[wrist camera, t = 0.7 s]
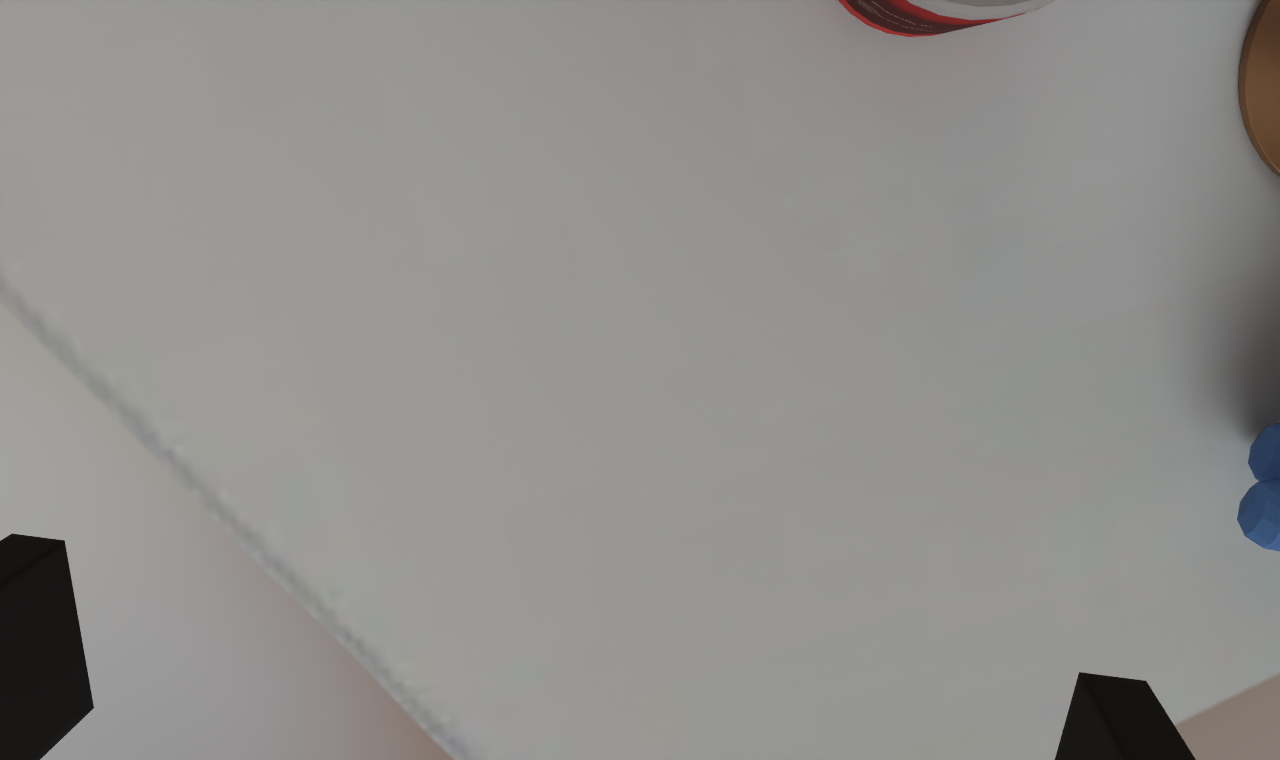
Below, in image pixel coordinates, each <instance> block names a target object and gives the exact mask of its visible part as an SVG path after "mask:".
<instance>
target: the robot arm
mask: <svg viewBox="0 0 1280 760" xmlns="http://www.w3.org/2000/svg"><path fill="white" fill-rule="evenodd" d="M93 708H94V706H93V700H92V695H91V690H90V684H89V678H88V672H87V666H86V660H85V655H84V649H83V643H82V638H81V632H80V626H79V620H78V615H77V609H76V603H75V598H74V592H73V586H72V580H71V575H70V569H69V563H68V558H67V552H66V547H65V541H64V540H56V539H48V538H41V537H33V536H25V535H18V534H11V535H9V536H8V537H6V538H4V539H3V540H1V541H0V760H40V759H41V758H42V757H43V756H44V755H45V754H46V753H47V752H48V751H49V750H50V749H52V747H54V746H55V745H56V744H57V743H58V742H59V741H60V740H61V739H62V738H63V737H64V736H65V735H66V734H67V733H68V732H69V731H70V730H71V729H72V728H73V727H74V726H76V725H77V723H79V722H80V721H81V720H82V719H83V718H84V717H85V716H86V715H87V714H88V713H89V712H90V711H91V710H92V709H93ZM1055 760H1196V759H1195V758H1194V756H1193V755H1192V753H1191V751H1190V750H1189V749H1188V747H1187V745H1186V744H1185V742H1184V740H1183V739H1182V737H1181V736H1180V734H1179V732H1178V731H1177V729H1176V728H1175V726H1174V724H1173V723H1172V721H1171V720H1170V718H1169V717H1168V715H1167V713H1166V712H1165V710H1164V709H1163V707H1162V705H1161V704H1160V702H1159V701H1158V699H1157V698H1156V696H1155V694H1154V693H1153V691H1152V690H1151V688H1150V686H1149V685H1148V683H1147V682H1146V681H1142V680H1134V679H1127V678H1119V677H1111V676H1104V675H1096V674H1088V673H1080V672H1079V675H1078V679H1077V682H1076V686H1075V690H1074V693H1073V697H1072V700H1071V704H1070V707H1069V711H1068V715H1067V718H1066V722H1065V725H1064V729H1063V733H1062V736H1061V740H1060V743H1059V747H1058V751H1057V754H1056V758H1055Z"/></svg>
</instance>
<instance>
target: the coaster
mask: <svg viewBox="0 0 1280 760" xmlns="http://www.w3.org/2000/svg"><path fill="white" fill-rule="evenodd" d="M1238 88H1239V100H1240V109H1241V113H1242V117H1243V121H1244V125H1245V128H1246V130H1247V133H1248V135H1249V138H1250V140H1251V143H1252V144H1253V146H1254V148H1255V149H1256V151H1257V152H1258V154H1259V156H1260V157H1261V159H1262V160H1263V161H1264V162H1265V163H1266V165H1267V166H1268V167H1269V168H1270V169H1271V170H1272V171H1273V172H1274V173H1275V174H1276V175H1277V176H1278V177H1280V0H1263V1H1262V2H1261V4H1260V6H1259V8H1258V10H1257V12H1256V14H1255V17H1254V19H1253V21H1252V23H1251V25H1250V28H1249V31H1248V34H1247V38H1246V41H1245V44H1244V47H1243V52H1242V57H1241V63H1240V69H1239V86H1238Z"/></svg>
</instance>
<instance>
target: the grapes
mask: <svg viewBox="0 0 1280 760" xmlns="http://www.w3.org/2000/svg"><path fill="white" fill-rule="evenodd" d="M1248 464H1249V466H1250V468H1251V470H1252V472H1253V474H1254V476H1255V478H1256V479H1257V480H1259V481H1260V482H1257V483H1256V484H1255V485H1253V486H1252V487H1251V488H1250V489H1249V490H1248V492H1247V493H1246V494H1245V496H1244V497H1243V499H1242V500H1241V502H1240V506H1239V512H1238V518H1237V520H1238V522H1239V524H1240V526H1241V529H1242V531H1243V533H1244V535H1245V536H1246V537H1247V538H1249V539H1250V540H1252V541H1253V542H1255V543H1256V544H1258V545H1260V546H1261V547H1263V548H1265V549H1270V550H1276V551H1280V423H1276V424H1273V425H1269V426H1267V427H1266V428H1265V429H1264V430H1263V431H1262V432H1261V433H1260V434H1259V435H1258V437H1257V438H1256V440H1255V441H1254V443H1253V444H1252V446H1251V449H1250V455H1249V460H1248Z"/></svg>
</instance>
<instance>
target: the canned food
mask: <svg viewBox="0 0 1280 760" xmlns="http://www.w3.org/2000/svg"><path fill="white" fill-rule="evenodd" d="M839 1H840V3H841V4H842V5H843V6H844V7H845V8H846V9H847V10H848V11H849V12H850V13H851V14H852V15H854V16H855V17H857V18H858V19H859V20H861V21H862V22H864V23H865V24H867V25H868V26H871V27H873V28H876V29H878V30H881V31H883V32H886V33H889V34H895V35H901V36H907V37H916V36H933V35H937V34H942V33H946V32H951V31H955V30H959V29H964V28H968V27H973V26H977V25H982V24H986V23H990V22H994V21H998V20H1002V19H1006V18H1010V17H1014V16H1017V15H1021V14H1024V13H1027V12H1029V11H1033V10H1037V9H1039V8H1041V7H1043V6H1045V5H1047V4H1049V3H1051V2H1054V1H1056V0H839Z"/></svg>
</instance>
